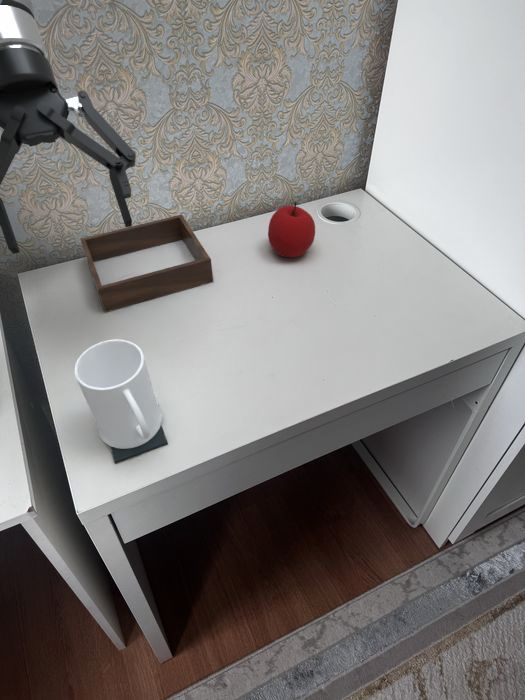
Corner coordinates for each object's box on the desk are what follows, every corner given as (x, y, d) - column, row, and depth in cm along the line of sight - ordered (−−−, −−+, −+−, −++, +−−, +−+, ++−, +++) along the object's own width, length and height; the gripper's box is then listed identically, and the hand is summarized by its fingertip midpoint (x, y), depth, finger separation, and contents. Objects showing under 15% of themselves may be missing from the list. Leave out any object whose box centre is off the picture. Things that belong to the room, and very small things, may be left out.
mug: (181, 449, 62) (167, 391, 53) (118, 480, 59) (91, 423, 50) (149, 388, 69) (131, 328, 60) (90, 413, 66) (63, 353, 58)
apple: (260, 242, 96) (260, 196, 88) (302, 233, 98) (305, 187, 90) (277, 268, 90) (278, 221, 82) (321, 258, 92) (326, 211, 84)
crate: (87, 261, 92) (80, 238, 88) (185, 236, 97) (181, 214, 94) (105, 312, 82) (97, 289, 78) (213, 281, 87) (211, 259, 83)
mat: (115, 464, 61) (114, 462, 61) (104, 423, 66) (103, 421, 65) (168, 444, 63) (167, 442, 63) (153, 405, 68) (153, 403, 67)
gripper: (120, 67, 64) (169, 222, 65) (-88, 97, 57) (-28, 268, 58) (120, 30, 57) (175, 204, 58) (-118, 59, 50) (-50, 255, 51)
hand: (73, 237), depth 58 cm, fingers open, 13 cm apart
